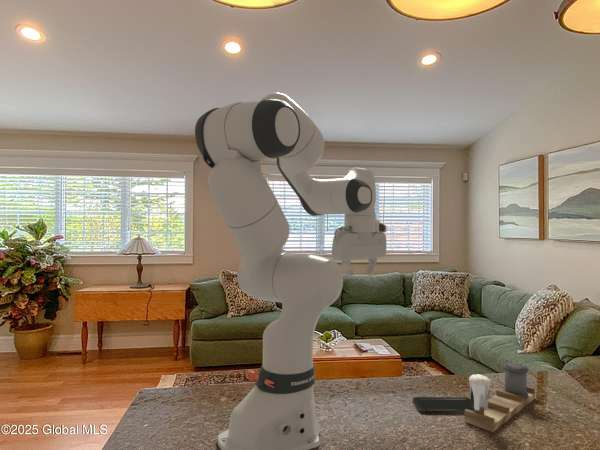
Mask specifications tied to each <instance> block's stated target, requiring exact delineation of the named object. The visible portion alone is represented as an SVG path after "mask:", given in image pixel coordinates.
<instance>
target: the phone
mask: <svg viewBox="0 0 600 450" xmlns="http://www.w3.org/2000/svg"><path fill="white" fill-rule="evenodd" d="M412 403H413V405H414V407H415V408H416V410H417V411H418V413H420V414H422V415H465V409H468V410H471V411H472V406H471V397H470V398H469V397H444V396H443V397H439V396H438V397H437V396H436V397H432V396H428V397H427V396H426V397H425V396H422V397H421V396H415V397H412Z"/></svg>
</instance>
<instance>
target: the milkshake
mask: <svg viewBox="0 0 600 450" xmlns="http://www.w3.org/2000/svg"><path fill="white" fill-rule="evenodd" d="M494 373H495V372H494V371H493V372H492V374H491V376H490V378H489V377H488V376H485V375H483V374H478V373H477V374H472V375H469V377H468V381H469V382H468V383H469V390H470V391H469V392H470V399H471V406H472V411H474V412H477V413H480V414H482V415H485V416H487V410H488V400H489V399H490V398H489V396H490V392H491V391H490V390H491V380H492V378H493V376H494Z"/></svg>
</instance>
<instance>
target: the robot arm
mask: <svg viewBox="0 0 600 450" xmlns="http://www.w3.org/2000/svg"><path fill="white" fill-rule="evenodd" d="M194 126H195V127H194V137H195V142H196V146H197V148H198V151H199V153H200V154H201V156H202V158H203V161H204V162H205V164H206V165H207V166H208V167H209V168H211V169H210V171H209V173H208V177H207V184H208V188H209V191H210V194H211V197H212V200H213V202H214V204H215V207H216V209H217V211H218V214H220V217H221V218H222V220H223V222H224V223H225V225H226V227H227V229H228V230H229V232H230V234H231V236H232V237H233V240H234V242H236V244H237V246H238V248H239V250H240V252H241V256H242V260H241V261H240V263H239V265H238V269H237V274H236V276H237V277H236V280H237V284H238V287H239V289H240V290H241V291H242V293H244V294H246V295H248V296H250V297H252V298H255V299H258V300H260V301H267V302H273V303H275V302H276V303H281V306H282V307H281V313H280V316H279V318H278V319H275V320H273V321H272V322H270V323H269V324H268V325H267V326H266V328H265V329H264V331H263V333H262V364H261V366H260V369H259V372H257V371H255V370H252V369H250V370H248V371H247V373H246V379H248V380H249V381H252V382H255V385H254V386H253V388H252V389H251V390H250V391H249V392H247V393H248V394H246V395H245V397H243V398H242V400H241V401H240V402H239V403H238V404H237V405H236V406H235V407H234V408H233V410H232V411H231V414H230V418H229V422H228V423H229V424H228V429H226V430H225V431H223V432H221V433H219V434H218V436H217V445H218V447H219V449H220V450H311V449H315V448H317V447H319V446H320V444H321V443H320V442H321V441H320V437H319V435H320V433H321V427H320V424H319V420H318V416H317V411H316V403H315V402H316V401H315V393H314V385H315V383H316V382H315V381H316V374H315V373H316V372H315V365H314V363H313V361H314V360H313V358H314V357H313V355H314V337H315V330H316V327H317V323H319V319H320V318H321V315H322V314H323V312H325V311H326V310H327V308H328V307H330V306H331V305H333V304H334V303H335V302H336V301H337V299H339V297H340V295H341V293H342V290H343V287H344V277H347V278H350V277H353V276H354V269H351V266H350V265H351V264H352V261H356V260H358V261H359V260H368V267H366V274H367V275H373V274H375V267H376V265H377V263H378V259H379V258H380V259H381V258H384V257H386V254H387V235H386V233H387V231H388V230H387V228H388V226H387V225H386V224H385V223H382V222H381V221H379V220H377V213H376V210H375V207H376V201H377V195H376V194H377V192H376V189H377V188H376V180H375V175H374V173H373V171H372V170H370V169H368V168H363V167H352V168H349V169H348V170H347V172H346V175H345V176H343V177H339V178H327V179H318V178H317V179H316V178H313V177H311V175H310V174H309V172H308V171H309V170H312V169H313V168H314V167H315V166H316V165H317V164H318V162H319V161H320V159H322V157H323V153H324V151H325V139H324V136H323V133H322V131H321V130H320V129H321V128H319V126H318V125H317V124H316V123H315V122H314V120H313V119H312V118H311V117H310V116H309V114H308V113H307V112H306V111H305V110H304V109H303V108H302V107H301V106H300V105H299V104H298V103H296V102H295V101H294V100H293V99H292V98H291V97H289V96H288V95H287V94H284V93H280V92H272V93H269V94H267V95H265V96H263V97H262V98H261V99H260V100H253V101H245V102H244V101H239V102H235V103H231V104H228V105H224V106H222V107H216V108H215V107H213V108H212V109H210V110H208V111H206V112H204V113H203V114H201V116H200V117H199V118H198V119H197V120H196V123H195V125H194ZM267 159H276V165H277V168H278V170H279V172H280V174H281V175H282V177H283V178H284V180H285V181H286V183H287V184H288V185H289V187H290V188H291V189H292V190H293V192H294V193H295V195H296V196H297V198H298V199H299V202H300V204H301V206H302V208H303V209H304V211H305V212H306V213H307V214H308V215H310V216H312V217H313V216H315V217H317V216H325V215H344V217H343V218H344V223H343V224H344V226H342V225H341V226H337V228H335V230H334V233H333V234H334V236H333V238H332V245H331V258H332V259H331V258H328V257H325V256H322V255H317V254H309V253H308V254H307V253H291V252H288V251H286V250H284V249H283V247H284V246H285V245H286V244H287V241H288V239H289V237H290V224H289V221H288V220H287V217H286V216H285V213H284V211H283V210H282V208H281V206H280V203H279V202H278V199H277V198H276V197H277V196H275V193H274V192H273V190H272V188H271V187H270V185H269V183H268V181H267V180H266V179H265V177H264V176H263V172H262V168H261V167H262V166H261V161H263V160H267ZM336 261H340V262H341V266H342V267H343V270H344V275H343V272H342V270H341V266H339V264H338V263H337V262H336Z"/></svg>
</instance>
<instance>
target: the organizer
mask: <svg viewBox="0 0 600 450" xmlns="http://www.w3.org/2000/svg"><path fill="white" fill-rule="evenodd" d="M526 391H527V392H528V397H527V398H524V397H522V396H519V395H515V394H512V393H509V392H505V391H503V389H498V388H496V389H495V395H493V396H491V397H490V398H488V410H487V416H485V415H482V414H480V413H477V412H474V411H471V410H468V409H465V414H464V423H468V424H469V425H472V426H476V427H477V428H480V429H483V430H486V431H489V432H491V433H493V432H495V431H496V430H498V429H499V428H500V427H502V425H504V424H505V423H507V421H509V420H510V419H511V418H513V417H514V416H515V415H517V414H518V413H519V412H520V411H521V410H522V409H524V408H525V407H527V406H528V405H529V404H530V403H532V402H533V401H534V400H535V399H536V388H535V387H531V386H528V385H527V390H526Z"/></svg>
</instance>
